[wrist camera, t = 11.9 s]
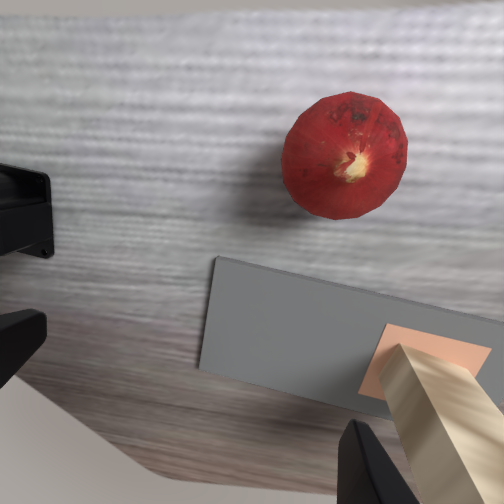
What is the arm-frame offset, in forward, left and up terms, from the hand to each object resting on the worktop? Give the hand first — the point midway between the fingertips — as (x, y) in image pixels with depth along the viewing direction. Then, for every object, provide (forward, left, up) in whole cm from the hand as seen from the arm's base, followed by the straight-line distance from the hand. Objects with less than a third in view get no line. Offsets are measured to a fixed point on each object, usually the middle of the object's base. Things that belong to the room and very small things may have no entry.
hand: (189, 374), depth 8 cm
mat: (+9, -7, -13) cm, 17 cm away
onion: (+4, +6, -13) cm, 15 cm away
